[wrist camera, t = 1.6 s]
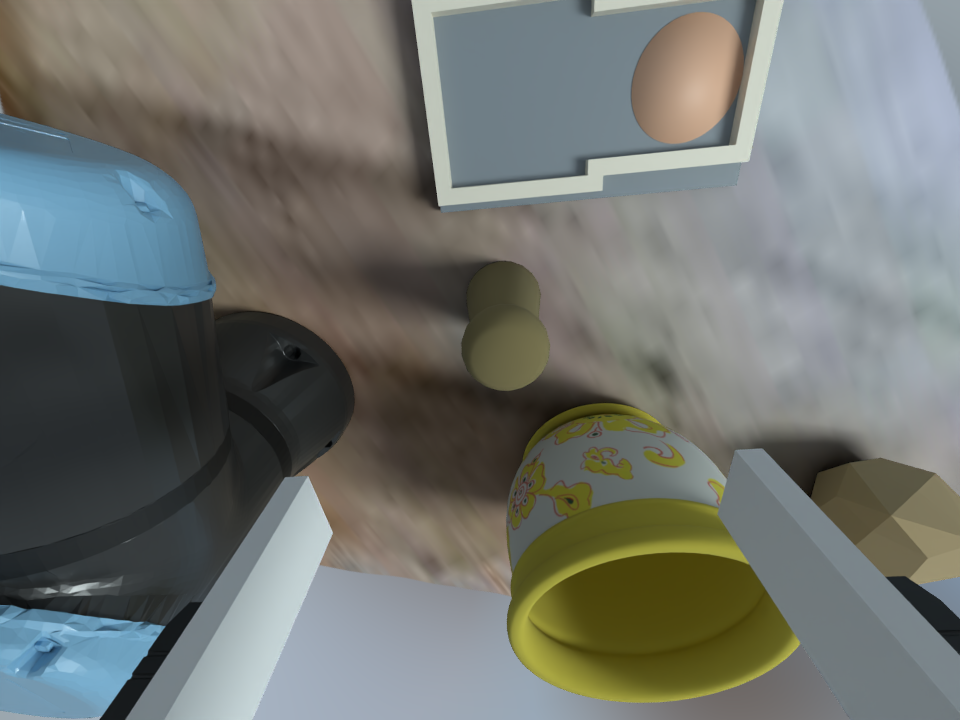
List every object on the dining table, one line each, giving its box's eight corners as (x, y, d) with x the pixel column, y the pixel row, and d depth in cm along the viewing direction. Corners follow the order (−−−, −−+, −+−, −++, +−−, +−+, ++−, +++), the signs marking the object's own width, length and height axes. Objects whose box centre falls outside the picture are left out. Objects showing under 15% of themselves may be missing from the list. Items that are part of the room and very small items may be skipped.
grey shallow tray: (442, 211, 27) (439, 214, 26) (415, -8, 22) (408, -22, 20) (728, 184, 26) (743, 185, 24) (776, -59, 20) (800, -79, 18)
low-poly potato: (876, 407, 34) (794, 480, 31) (1070, 499, 26) (982, 606, 23) (817, 485, 44) (751, 545, 41) (945, 569, 36) (873, 649, 33)
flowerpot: (680, 508, 40) (783, 701, 26) (515, 522, 42) (525, 708, 28) (694, 364, 32) (856, 528, 18) (490, 391, 34) (484, 556, 20)
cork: (453, 281, 30) (431, 338, 20) (522, 247, 28) (535, 290, 18) (486, 343, 32) (481, 420, 22) (552, 314, 31) (577, 384, 21)
